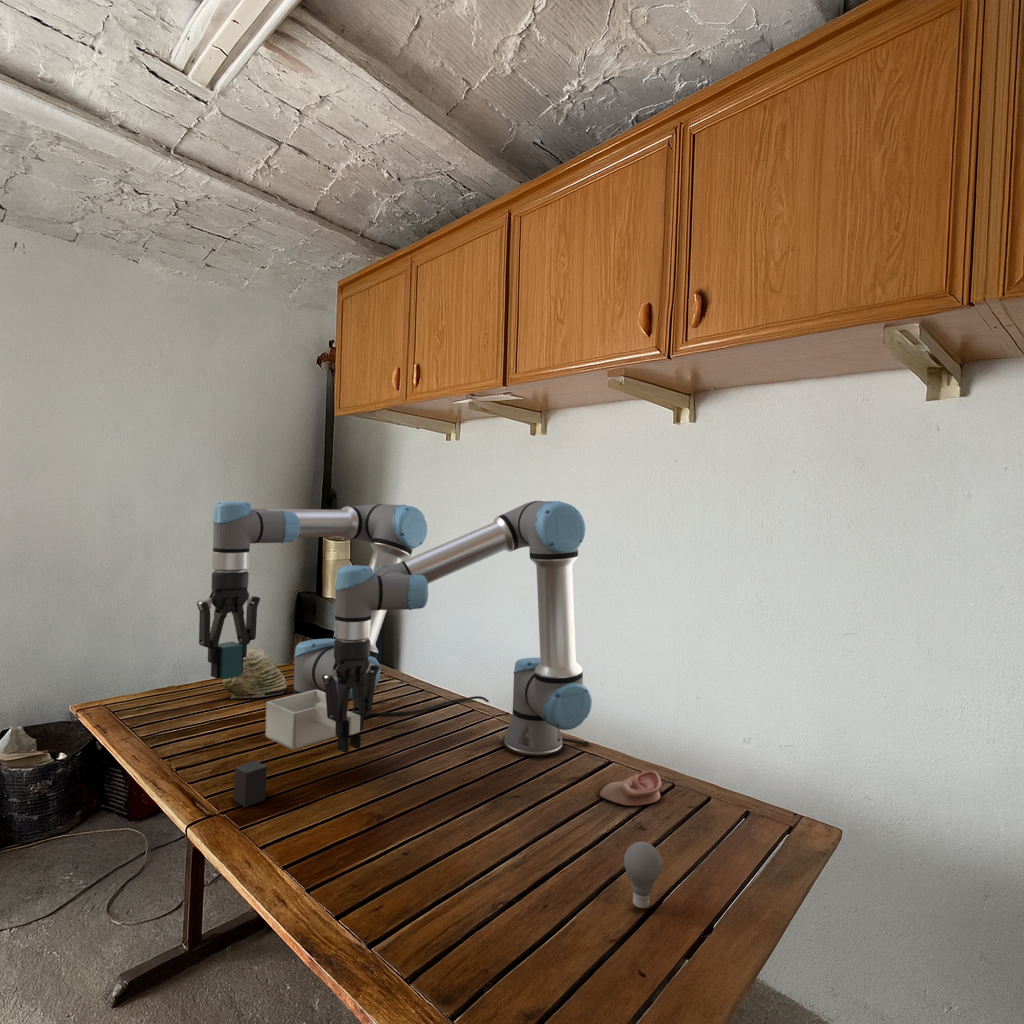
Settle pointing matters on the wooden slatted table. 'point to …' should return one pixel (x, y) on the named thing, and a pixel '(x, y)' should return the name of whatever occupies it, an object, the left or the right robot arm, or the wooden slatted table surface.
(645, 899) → the light bulb
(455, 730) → the wooden slatted table surface
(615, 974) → the wooden slatted table surface
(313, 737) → the handled box
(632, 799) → the anatomical model
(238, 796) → the charcoal block
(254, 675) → the fossil
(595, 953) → the wooden slatted table surface
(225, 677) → the teal block
